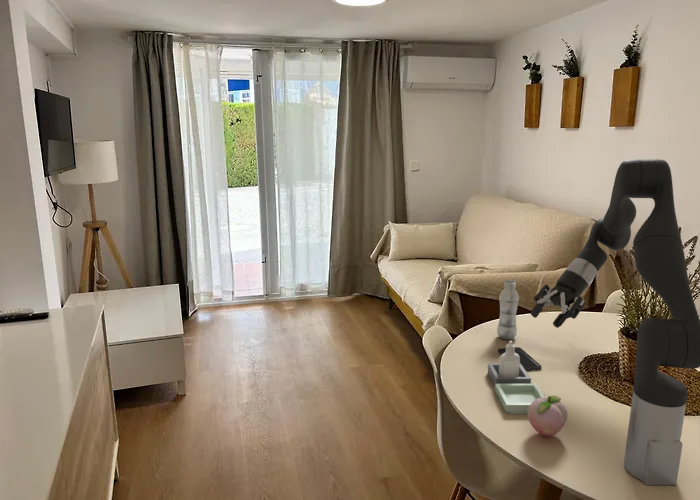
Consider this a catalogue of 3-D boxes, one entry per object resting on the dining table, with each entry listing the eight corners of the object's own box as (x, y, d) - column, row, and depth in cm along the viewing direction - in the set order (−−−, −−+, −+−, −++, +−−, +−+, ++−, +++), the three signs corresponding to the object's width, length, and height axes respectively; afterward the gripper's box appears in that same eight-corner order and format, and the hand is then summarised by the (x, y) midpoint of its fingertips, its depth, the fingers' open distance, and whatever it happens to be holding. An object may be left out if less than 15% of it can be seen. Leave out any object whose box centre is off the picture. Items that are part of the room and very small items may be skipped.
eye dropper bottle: (519, 385, 144) (522, 345, 141) (498, 383, 145) (501, 343, 142) (517, 377, 148) (520, 338, 145) (497, 376, 149) (499, 337, 146)
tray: (550, 413, 129) (550, 404, 129) (506, 413, 130) (506, 404, 129) (535, 391, 140) (536, 383, 139) (494, 392, 140) (495, 383, 140)
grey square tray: (530, 388, 142) (531, 378, 141) (495, 388, 142) (496, 378, 141) (519, 372, 151) (520, 363, 150) (487, 372, 151) (488, 363, 150)
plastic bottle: (496, 340, 174) (499, 283, 169) (496, 333, 180) (500, 278, 175) (516, 342, 172) (520, 285, 167) (516, 335, 178) (520, 279, 174)
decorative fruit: (534, 420, 127) (537, 382, 124) (569, 432, 122) (573, 393, 119) (519, 437, 120) (522, 398, 117) (555, 451, 115) (559, 410, 112)
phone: (519, 346, 167) (543, 367, 153) (519, 350, 167) (542, 370, 153) (496, 348, 166) (518, 369, 152) (496, 351, 166) (517, 372, 152)
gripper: (552, 263, 154) (519, 305, 152) (591, 275, 141) (556, 321, 139) (564, 278, 157) (532, 320, 155) (603, 291, 145) (569, 336, 143)
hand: (543, 320), depth 147 cm, fingers open, 8 cm apart
